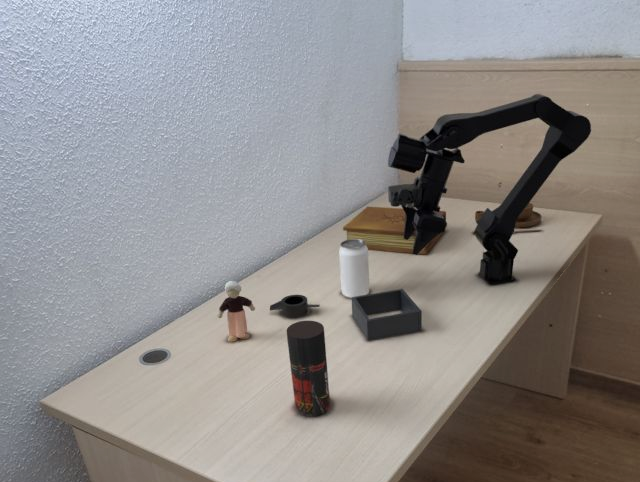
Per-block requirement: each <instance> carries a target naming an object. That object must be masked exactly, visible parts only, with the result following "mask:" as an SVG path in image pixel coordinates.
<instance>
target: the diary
mask: <svg viewBox="0 0 640 482" xmlns="http://www.w3.org/2000/svg"><path fill="white" fill-rule="evenodd" d="M433 212H436V211H433ZM436 213H441V215H442V216H443V217H444V218H445V220H446V221H447V211H445V210H440V211H439V212H436ZM404 226H405V212H404V210H403V208H399V207H397V208H396V207H383V206H381V207H380V206H366V207H365V208H364V209H362V211H360V212H359V213H358V214H357V215H356V216H355V217H353V218H352V219H350V221H348V223H346V224H345V225H344V226H343V227H342V230H343V231H346V240H350V239H360V240H364V241H365V242H366V246H367V248H368V250H375V251H383V252H384V251H385V252H395V253H396V252H397V253H407V254H413V253H412V251H413V245H414V240H415V235H416V230H415V231H414V233H413V234H412V235H411V237H410V238H409V239H408V240H406V239H404ZM443 234H444V232H441V234H438V235H437V236H436V237H435V238H434V239H432V240H431V241H430V242H429V243H428V244H427V245H426V246H425V247H424V248H423V249H422V250H421V251H420V252H419V253H418V254H417V255H419V254H420V255H427V254H428V253H429V251H430V250H431V249H432V247H434V245H435V244H436V243H437V242H438V240H439V239H440V238H441V236H442V235H443Z"/></svg>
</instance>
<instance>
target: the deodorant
mask: <svg viewBox="0 0 640 482" xmlns="http://www.w3.org/2000/svg"><path fill="white" fill-rule="evenodd" d="M286 340H287V347H288V355H289V356H288V357H289V364H290V373H291V381H292V390H293V398H294V406H295V407H294V408H295V411H296V412H297V413H298V414H299V415H300V416H304V417H307V418H314V417H319V416H322V415H324V414H326V413H327V412H328V411H329V410H330V408H331V399H330V385H329V373H328V361H327V349H326V336H325V326H324V325H323V324H322V323H321V322H319V321H316V320H301V321H300V320H299V321H297V322H293V323H291V324H290V325H288V326H287V328H286Z"/></svg>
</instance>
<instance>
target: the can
mask: <svg viewBox="0 0 640 482" xmlns="http://www.w3.org/2000/svg"><path fill="white" fill-rule="evenodd" d="M338 255H339V274H340V275H339V276H340V289H341V294H342V295H343V296H344V297H346V298H349V299H352V298H351V297H356V296H362V295H368V294H370V266H369V264H370V263H369V249H368V248H367V246H366V242H365V241H364V240H360V239H350V240H347V239H346V240H343V241H342V242H341V243H340V247H339V249H338Z"/></svg>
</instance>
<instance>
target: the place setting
mask: <svg viewBox="0 0 640 482" xmlns="http://www.w3.org/2000/svg"><path fill="white" fill-rule="evenodd" d="M484 212H485V210H476V211H475V212H474V220H475V223H476V222H477V221H478V220H479V219H480V218H481V217H482V216H483V214H484ZM541 220H542V214H541V213H539V212H538V211H535V210H534V204H533V203H532V202H529V203H528V205H527V206H526V208H525V209H524V210H523V212H522V213H521V214H520V216H519V217H518V219H517V221H516V225H515V228H518V229H519V228H520V229H521V228H529V227H534V226H535V225H537V224H539V223H540V222H541ZM541 231H542V230H541V229H529V230H514V232H513V234H516V233H519V232H522V233H523V232H541ZM472 234H473V235H475V230H474V231H473V232H472Z"/></svg>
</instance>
